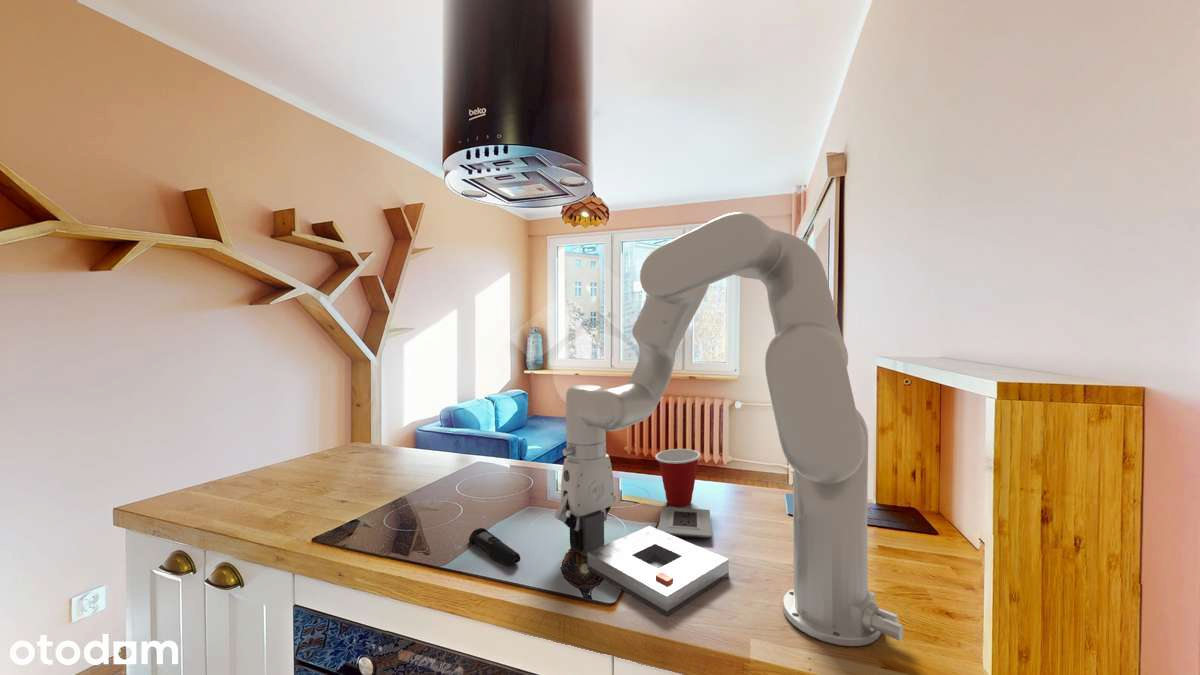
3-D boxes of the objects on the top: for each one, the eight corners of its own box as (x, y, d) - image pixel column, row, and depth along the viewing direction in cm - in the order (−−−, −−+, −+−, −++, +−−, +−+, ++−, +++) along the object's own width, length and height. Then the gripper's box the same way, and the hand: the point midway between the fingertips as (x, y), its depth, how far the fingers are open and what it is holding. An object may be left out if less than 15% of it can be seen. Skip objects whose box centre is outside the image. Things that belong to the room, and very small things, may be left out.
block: (604, 548, 88) (603, 512, 87) (585, 556, 84) (585, 519, 84) (588, 540, 91) (588, 505, 91) (570, 548, 88) (570, 511, 88)
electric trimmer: (507, 575, 79) (506, 557, 79) (467, 543, 91) (466, 528, 91) (525, 567, 82) (525, 550, 82) (484, 538, 93) (484, 522, 93)
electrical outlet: (712, 546, 89) (712, 534, 89) (657, 542, 91) (657, 530, 91) (709, 519, 102) (709, 508, 102) (662, 515, 104) (661, 505, 104)
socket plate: (728, 576, 77) (728, 555, 77) (666, 616, 66) (666, 592, 66) (649, 540, 90) (649, 522, 90) (587, 569, 80) (587, 548, 80)
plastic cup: (651, 495, 115) (650, 448, 115) (692, 493, 116) (692, 446, 116) (661, 512, 104) (660, 460, 104) (707, 510, 106) (706, 458, 106)
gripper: (562, 462, 79) (563, 567, 79) (631, 445, 90) (632, 537, 90) (538, 454, 85) (539, 552, 85) (605, 439, 96) (606, 525, 96)
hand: (587, 543), depth 88 cm, fingers closed on block, 4 cm apart
